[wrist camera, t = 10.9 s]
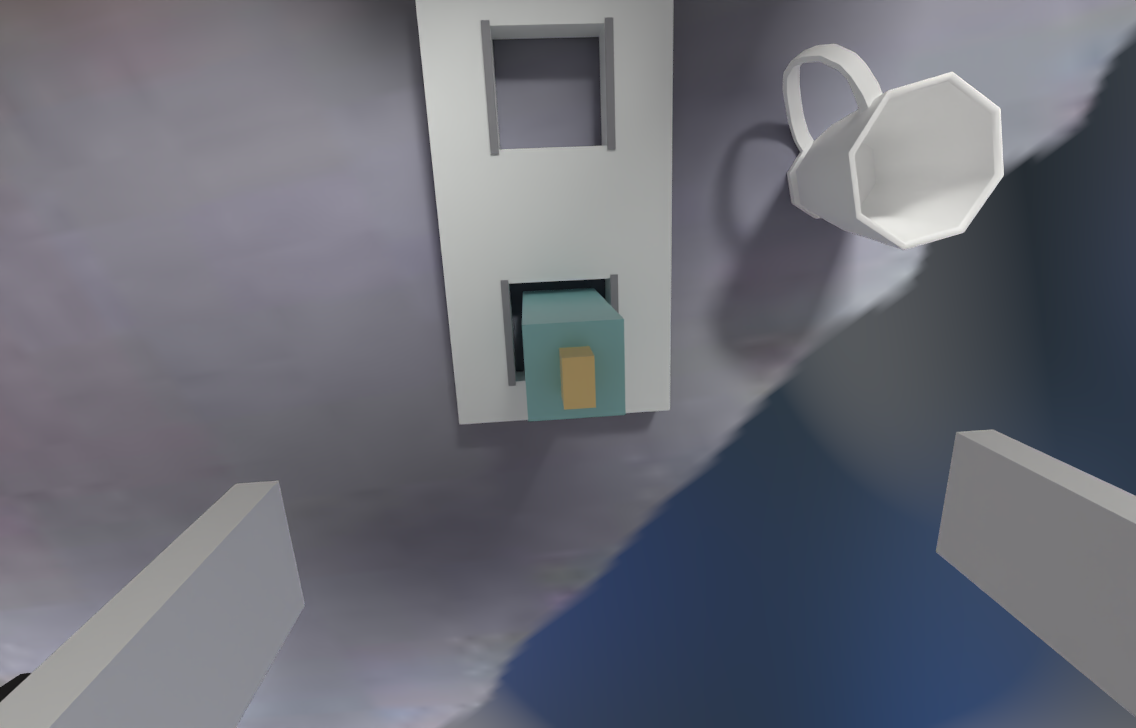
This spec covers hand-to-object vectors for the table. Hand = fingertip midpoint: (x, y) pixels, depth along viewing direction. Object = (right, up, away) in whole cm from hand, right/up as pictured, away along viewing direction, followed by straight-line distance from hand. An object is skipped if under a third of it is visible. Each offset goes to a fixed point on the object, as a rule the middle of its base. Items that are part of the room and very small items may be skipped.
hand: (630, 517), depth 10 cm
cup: (+12, +15, +19) cm, 27 cm away
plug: (-2, +5, +20) cm, 21 cm away
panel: (-2, +11, +19) cm, 22 cm away
